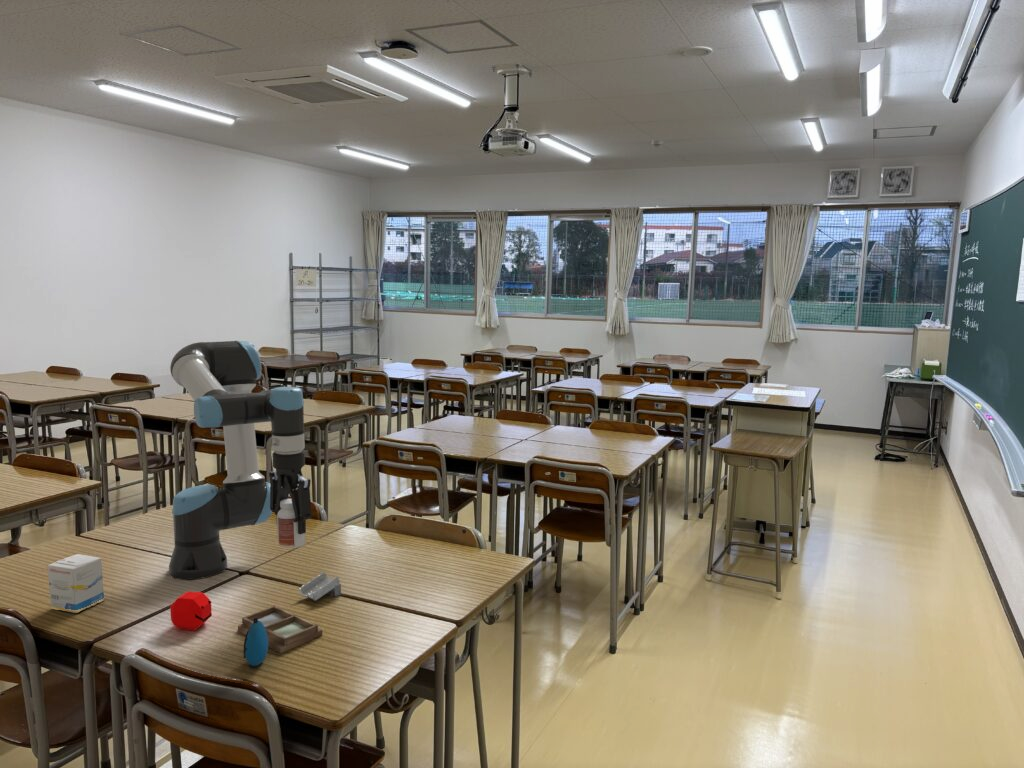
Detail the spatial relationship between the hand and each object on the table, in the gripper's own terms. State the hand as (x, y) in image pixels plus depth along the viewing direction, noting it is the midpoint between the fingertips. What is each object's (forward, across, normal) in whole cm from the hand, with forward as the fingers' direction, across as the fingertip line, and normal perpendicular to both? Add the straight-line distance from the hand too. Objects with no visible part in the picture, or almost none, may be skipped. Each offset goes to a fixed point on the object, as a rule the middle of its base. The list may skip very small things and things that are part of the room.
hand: (291, 542), depth 176 cm
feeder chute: (+17, 0, +8) cm, 19 cm away
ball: (+17, -10, -21) cm, 29 cm away
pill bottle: (+1, 0, 0) cm, 1 cm away
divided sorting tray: (+17, +9, -10) cm, 21 cm away
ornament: (+17, +17, -21) cm, 32 cm away
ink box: (+17, -43, -33) cm, 57 cm away
